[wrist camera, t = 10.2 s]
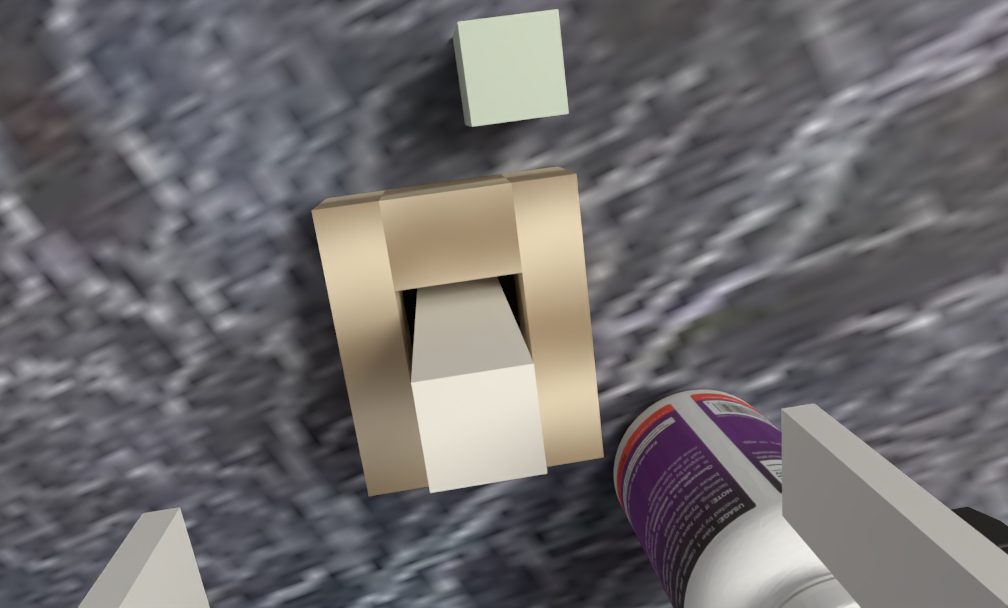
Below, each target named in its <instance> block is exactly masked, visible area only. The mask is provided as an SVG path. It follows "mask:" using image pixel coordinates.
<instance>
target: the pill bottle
mask: <svg viewBox="0 0 1008 608" xmlns="http://www.w3.org/2000/svg"><path fill="white" fill-rule="evenodd" d="M614 484H615V490H616V494H617V497H618V500H619V502H620V504H621V506H622V508H623V511H624V513H625V515H626V517H627V519H628V520H629V522H630V524H631V526H632V528H633V530H634V532H635V534H636V536H637V538H638V540H639V542H640V544H641V546H642V548H643V550H644V551H645V553H646V555H647V557H648V559H649V561H650V563H651V565H652V567H653V569H654V571H655V573H656V575H657V577H658V579H659V581H660V582H661V584H662V586H663V588H664V590H665V592H666V594H667V596H668V598H669V600H670V602H671V604H672V606H673V608H861V607H860V606H859V605H858V604H857V603H856V601H855V600H854V599H853V598H852V597H851V596H850V594H849V593H848V592H847V591H846V590H845V589H844V587H843V586H842V585H841V584H840V583H839V582H838V580H837V579H836V578H835V577H834V576H833V575H832V573H831V572H830V571H829V570H828V569H827V568H826V566H825V565H824V564H823V563H822V562H821V561H820V559H819V558H818V557H817V556H816V555H815V554H814V552H813V551H812V550H811V549H810V548H809V547H808V545H807V544H806V543H805V542H804V541H803V539H802V538H801V537H800V536H799V535H798V534H797V532H796V531H795V530H794V529H793V528H792V527H791V525H790V524H789V523H788V522H787V521H786V520H785V518H784V517H783V516H782V433H781V432H780V431H779V430H778V429H777V428H776V427H775V426H773V425H772V424H771V423H770V422H769V421H768V420H767V419H766V418H765V417H763V416H762V415H761V414H760V413H759V412H758V411H756V410H755V409H754V408H753V407H752V406H750V405H749V404H747V403H746V402H745V401H743V400H741V399H739V398H737V397H735V396H733V395H730V394H728V393H725V392H721V391H715V390H706V389H703V390H688V391H684V392H679V393H676V394H673V395H670V396H668V397H665V398H663V399H661V400H659V401H658V402H656V403H654V404H653V405H651V406H650V407H648V408H647V409H646V410H644V411H643V412H642V413H641V414H640V415H639V416H638V417H637V418H636V419H635V420H634V421H633V423H632V424H631V425H630V427H629V428H628V429H627V431H626V433H625V434H624V436H623V438H622V440H621V442H620V444H619V447H618V450H617V453H616V457H615V462H614Z"/></svg>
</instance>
